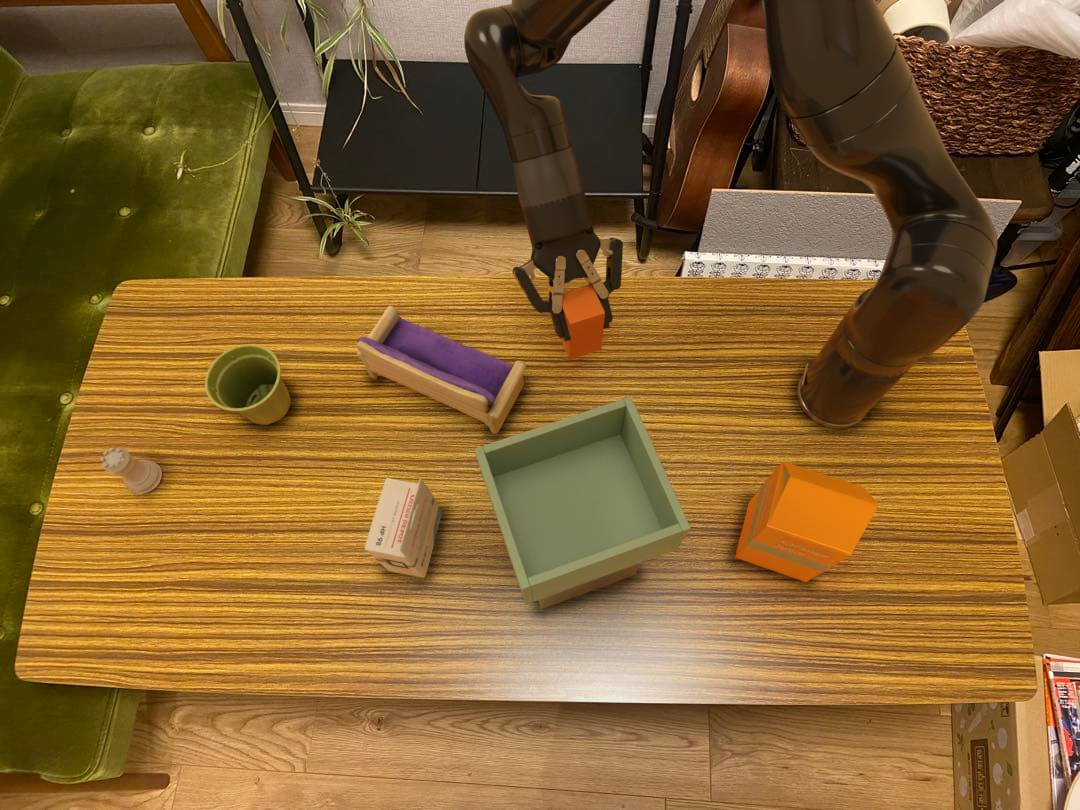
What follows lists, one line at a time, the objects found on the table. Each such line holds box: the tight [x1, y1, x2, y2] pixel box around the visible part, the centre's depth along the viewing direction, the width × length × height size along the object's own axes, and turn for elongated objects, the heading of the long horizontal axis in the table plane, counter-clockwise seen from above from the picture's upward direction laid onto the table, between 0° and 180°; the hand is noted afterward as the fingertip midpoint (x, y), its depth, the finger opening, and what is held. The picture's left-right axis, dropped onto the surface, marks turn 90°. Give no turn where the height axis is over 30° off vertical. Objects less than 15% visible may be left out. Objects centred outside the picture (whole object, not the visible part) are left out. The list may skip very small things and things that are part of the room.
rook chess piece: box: [100, 447, 163, 495], centre depth 88 cm, size 4×4×8 cm
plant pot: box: [204, 343, 292, 426], centre depth 92 cm, size 9×9×9 cm
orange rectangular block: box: [559, 284, 605, 361], centre depth 89 cm, size 4×4×9 cm
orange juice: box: [734, 460, 880, 583], centre depth 77 cm, size 8×9×20 cm
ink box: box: [363, 477, 443, 578], centre depth 81 cm, size 9×5×15 cm, turn 168°
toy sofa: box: [355, 305, 527, 435], centre depth 92 cm, size 21×9×10 cm, turn 64°
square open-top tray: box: [473, 395, 692, 605], centre depth 67 cm, size 16×14×8 cm
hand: (586, 332), depth 87 cm, fingers closed on orange rectangular block, 4 cm apart
